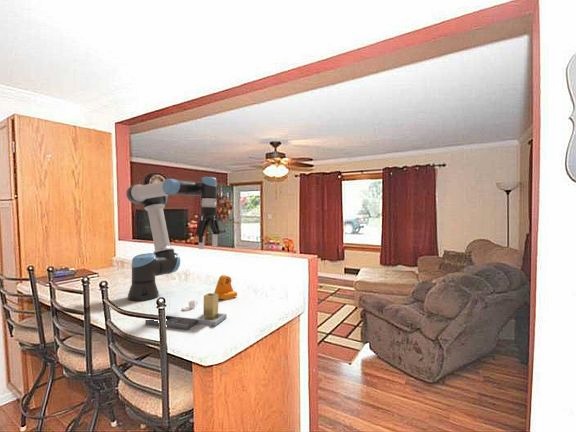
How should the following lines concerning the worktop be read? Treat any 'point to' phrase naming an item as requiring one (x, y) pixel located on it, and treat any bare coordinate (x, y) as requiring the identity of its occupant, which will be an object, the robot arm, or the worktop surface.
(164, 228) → the robot arm
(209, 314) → the tan rectangular block
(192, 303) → the teacup and saucer
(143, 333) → the worktop surface
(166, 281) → the worktop surface
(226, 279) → the bracket
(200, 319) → the tray
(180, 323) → the dark grey shallow tray
